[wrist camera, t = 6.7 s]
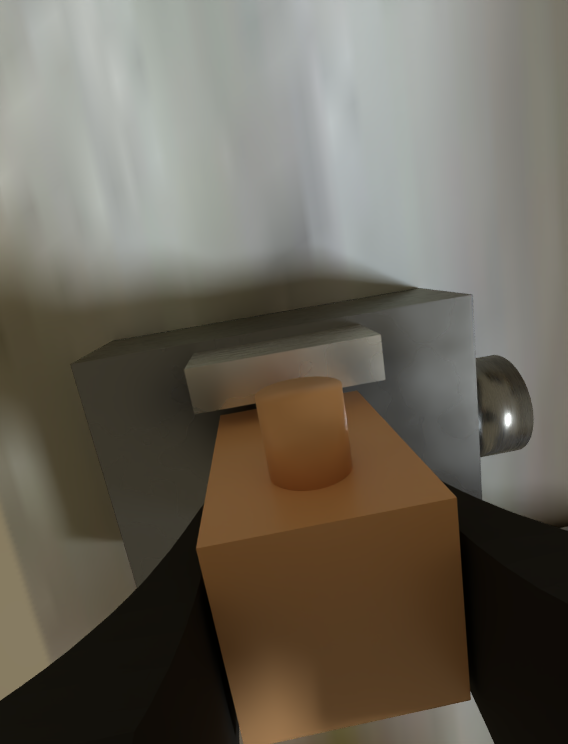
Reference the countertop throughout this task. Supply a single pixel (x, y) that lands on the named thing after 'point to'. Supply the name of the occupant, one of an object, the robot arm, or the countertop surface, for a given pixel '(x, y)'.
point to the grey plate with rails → (283, 362)
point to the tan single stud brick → (329, 566)
